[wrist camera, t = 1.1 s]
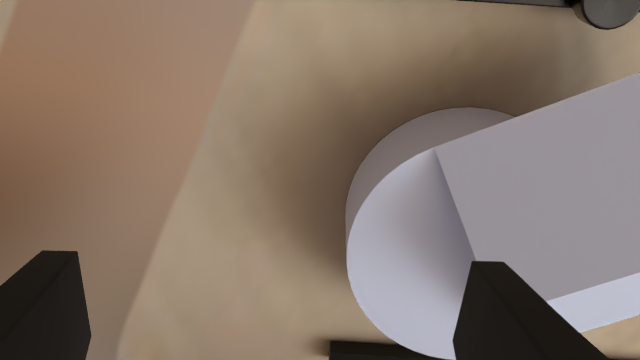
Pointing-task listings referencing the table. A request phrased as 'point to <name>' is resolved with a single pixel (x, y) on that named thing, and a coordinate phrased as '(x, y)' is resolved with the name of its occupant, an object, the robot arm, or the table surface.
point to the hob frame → (588, 3)
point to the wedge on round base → (500, 213)
